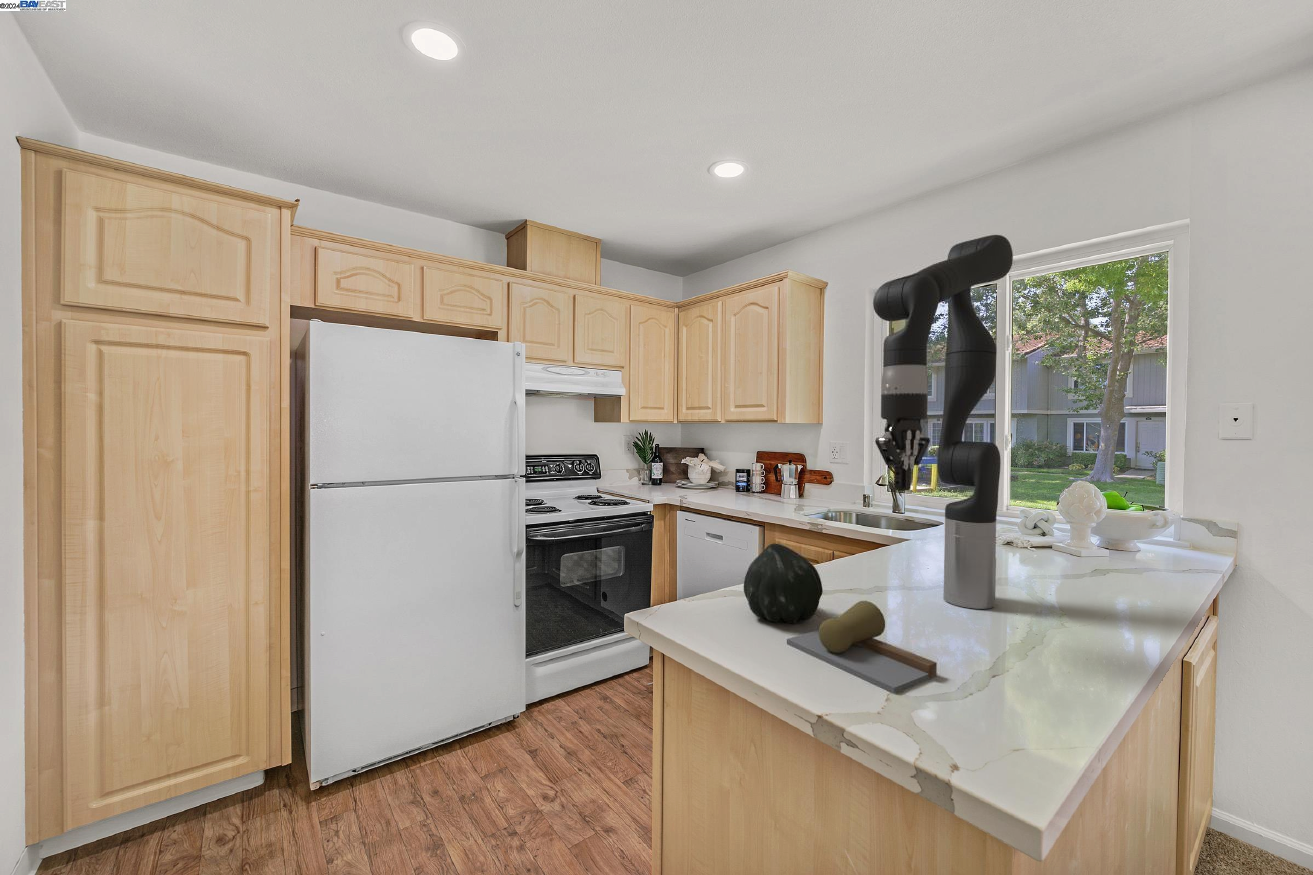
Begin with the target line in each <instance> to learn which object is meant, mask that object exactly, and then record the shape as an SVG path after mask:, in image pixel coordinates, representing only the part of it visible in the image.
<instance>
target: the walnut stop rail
mask: <svg viewBox="0 0 1313 875" xmlns="http://www.w3.org/2000/svg"><path fill="white" fill-rule="evenodd" d="M823 622H824V621H822V622H819V627H820V626H821V624H822V623H823ZM854 644H856V645H859V646H861V647H864V648H866V649H869V650H871V651H873V652H876V653H878V654H881V655H883V656H886V657H888V658H891V659H893V660H896V661H898V662H900V663H903V664H905V665H908V666H910V667H913V668H915V669H918V670H920V671H922V672H925V673H927V674H929V677H928V680H931V679H933V678H936V677H937V667H938V666H937V663H938V662H937V661H933V660H931V659H928V658H926V657H923V656H921V655H918V654H915V653H913V652H911V651H907V650H906V649H902V648H900V647H897V646H894V645H893V644H889V643H887V642H884V641H882V640H879V639H876V638H875V637H874V638H869V639H866V640H863V641H860V642H857V643H854Z"/></svg>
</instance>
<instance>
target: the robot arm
mask: <svg viewBox="0 0 1313 875" xmlns="http://www.w3.org/2000/svg"><path fill="white" fill-rule="evenodd" d="M1013 254H1014V253H1013V247H1012V245H1011V242H1010V241H1009V239H1008V238H1007V237H1005V236H1004V235H1001V234H991V235H986V236H982V237H978V238H973V239H969V240H967V241H962V242H959V243H956V244H954V245H952V247H951V248H950V250H949V252H948V254H947V259H945V260H942V261H939V262H936V263H933V264H931V265H929V266H927V267H924V268H923V269H920V270H918V271H916V272H915V273H912V274H909V275H906V276H902V277H897V278H894V279H891V280H890V281H889V280H888V281H886V282H885V283H883V284H882V285H881V286H879V288H878V289H877V290H876V292H875V293H874V296H873V302H872V304H873V310H874V312H875V314H876V315H877V316H878V318H880V319H881V320H882V321H883V320H884V321H887V322H899V321H903V320H907V321H906V323H905V325H904V327H902V328H901V329H900V330H899V331H898V330H897V331H896V332H894V333H893V332H892V333H890V334H889V335H887V336H886V337H885V338H884V340H883V341H884V342H883V351H882V352H883V356H882V357H883V360H882V362H883V363H882V364H883V366H882V375H881V386H880V388H881V389H880V390H881V391H880V392H881V394H880V418H881V419H882V420H886V421H885V422H886V423H885V426H884V434H883V435H882V436H881V437H876V438H875V439H874V441H875V445H876V446H877V447H876V448H877V449H878V451H879V453H880V455H881V457H882V459H883V461H884V464H885V465H886V466H890V467H891V468H892V469H893V486H894V488H893V489H894V490H896V491H899V492H900V491H901V492H907V491H910V490H911V487H912V486H911V485H912V470H913V469H914V468H915V466H919V465H920V464H921V462H922V460H923V457H924V456H925V453H926V451H927V449H928V447H929V445H930V443H931V438H929V437H925V436H924V435H923V434H922V432H923V428H922V423H921V421H922V420H925V419H927V418H928V404H929V403H928V400H929V399H928V394H929V390H928V388H929V378H928V369H927V368H928V367H927V363H928V362H927V361H928V360H927V359H928V358H927V357H928V341H929V337H930V334H931V330H932V326H933V322H934V320H935V317H936V314H937V310H938V309H939V308H938V306H939V305H940V303H943V302H944V301H946V300H947V334H946V335H947V336H946V346H945V347H946V348H945V355H944V356H945V362H944V394H943V412H942V419H941V420H942V421H941V426H940V434H939V442H938V449H937V457H936V458H937V459H936V468H937V469H936V470H937V475H938V478H939V480H940V481H941V482H942V483H943V484H946V485H952V486H964V487H974V490H973V494H972V495H971V496H969V497H967V498H965V499H962V500H958V501H952V502H949V503H946V505H945V508H944V548H943V549H944V550H943V551H944V555H943V556H944V557H943V558H944V559H943V560H944V561H943V595H942V596H943V597H942V598H943V600H944V601H945V602H946V603H949V604H951V605H954V606H957V607H963V608H969V609H977V610H983V609H984V610H985V609H986V610H987V609H991V608H994V607H995V603H996V590H997V589H996V588H997V586H996V585H997V584H996V583H997V580H996V578H997V577H996V576H997V557H996V555H997V554H996V553H997V550H996V548H997V513H998V506H999V490H1000V489H999V487H1000V476H1001V475H1000V474H1001V453H1000V450H999V448H998V445H997V444H995V443H993V442H990V441H973V440H972V441H971V440H969V441H968V440H967V441H966V440H965V441H964V440H963V435H964V431H965V426H966V424H967V421H968V419H969V417H970V415H971V414H972V412H973V411H974V409H975V408H976V406H977V405H978V404H979V402H980V401H981V400H982V399H983V397H984V396H985V395H986V394H987V392H988V390H989V389H990V388H991V385H992V384H993V382H994V380H995V378H996V369H997V368H996V367H997V350H998V349H997V344H996V342H995V339H994V338H993V336H992V334H991V333H990V331H989V330H988V328H987V326H985V324H984V323H983V321H981V319H980V317H979V316H978V315H977V312H976V311H975V308H974V306H973V303H972V302H973V301H972V294H971V293H972V292H971V291H972V287H973V286H976V285H981V284H986V283H987V284H988V283H991V282H995V281H999V280H1001V279H1003V278H1005V277H1006V276H1007V275H1008V274H1009V272H1010V271H1011V269H1012V265H1013V261H1014V255H1013Z"/></svg>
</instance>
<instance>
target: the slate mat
mask: <svg viewBox="0 0 1313 875" xmlns="http://www.w3.org/2000/svg"><path fill="white" fill-rule="evenodd" d="M786 644H787V645H789V646H791V647H792V648H795V649H798V650H800V651H801V652H803V653H806V654H808V655H810V656H812V657H815V658H816V659H818V660H821V661H822V662H825V663H827V664H830V665H832V666H834V667H836V668H838V669H840V670H843V671H844V672H847V673H849V674H851V675H853V676H855V677H858V678H860V679H862V680H864V681H866V682H869V683H870V684H873V685H875V686H877V687H879V688H881V689H884V690H885V691H888V692H890V693H891V694H896V693H899V692H901V691H904V690H907V689H909V688H911V687H914V686H916V685H918V684H921V683H923V682H925V681H928V680H929V679H928V677H929V674H927V673H925V672H922V671H920V670H918V669H915V668H913V667H910V666H908V665H905V664H903V663H900V662H898V661H896V660H893V659H891V658H888V657H886V656H883V655H881V654H878V653H876V652H873V651H871V650H869V649H866V648H864V647H861V646H859V645H856V644H854V643H853V644H851V646H850V647H849V648H848V650H846V651H844V652H842V653H833V652H831V651H829V650H827V649H826V648H825V647H824V646H823V645H822V643H821V641H820V638H819V629H817V630H815V631H810V632H806V633H803V634H799V635H797V636H792V637H788V638H786Z"/></svg>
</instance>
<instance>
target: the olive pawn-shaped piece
mask: <svg viewBox="0 0 1313 875" xmlns="http://www.w3.org/2000/svg"><path fill="white" fill-rule="evenodd" d="M822 622H823V623H822V624H821V626H820V625H819V628H818V630H819V638H820V641H821V643H822V645H823V646H824V647H825V648H826V649H827V650H829V651H831V652H833V653H842V652H844V651H846V650H848V648H849V647H850V646H851V644H853V643H857V642H860V641H863V640H866V639H869V638H874V639H875V638H877V637H879V636H881V635H882V634H883V633H884V632H885V628H886V620H885V617H884V613H882V610H880V608H879V607H878V606H877V605H876V604H874V603H873V602H871V601H868V600H860V601H858V602H856V603H855V604H853V605H852V606H850V608H849V609H847V610H846V611H845V612H843V613H841V615H839V616H838V617H837V618H836V617H835V618H834V617H833V618H828V619H826V620H824V621H822Z"/></svg>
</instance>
